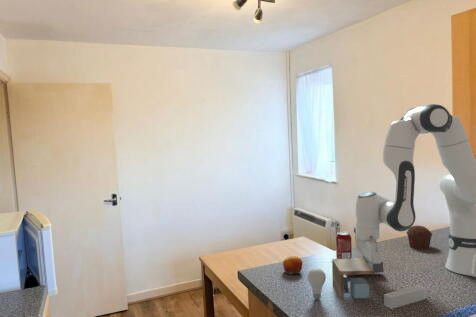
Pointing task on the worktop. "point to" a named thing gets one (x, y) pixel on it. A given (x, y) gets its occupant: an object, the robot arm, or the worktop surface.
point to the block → (359, 288)
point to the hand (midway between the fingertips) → (367, 266)
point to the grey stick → (404, 296)
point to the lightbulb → (316, 281)
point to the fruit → (292, 265)
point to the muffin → (419, 237)
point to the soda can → (343, 245)
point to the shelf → (347, 272)
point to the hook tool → (376, 267)
